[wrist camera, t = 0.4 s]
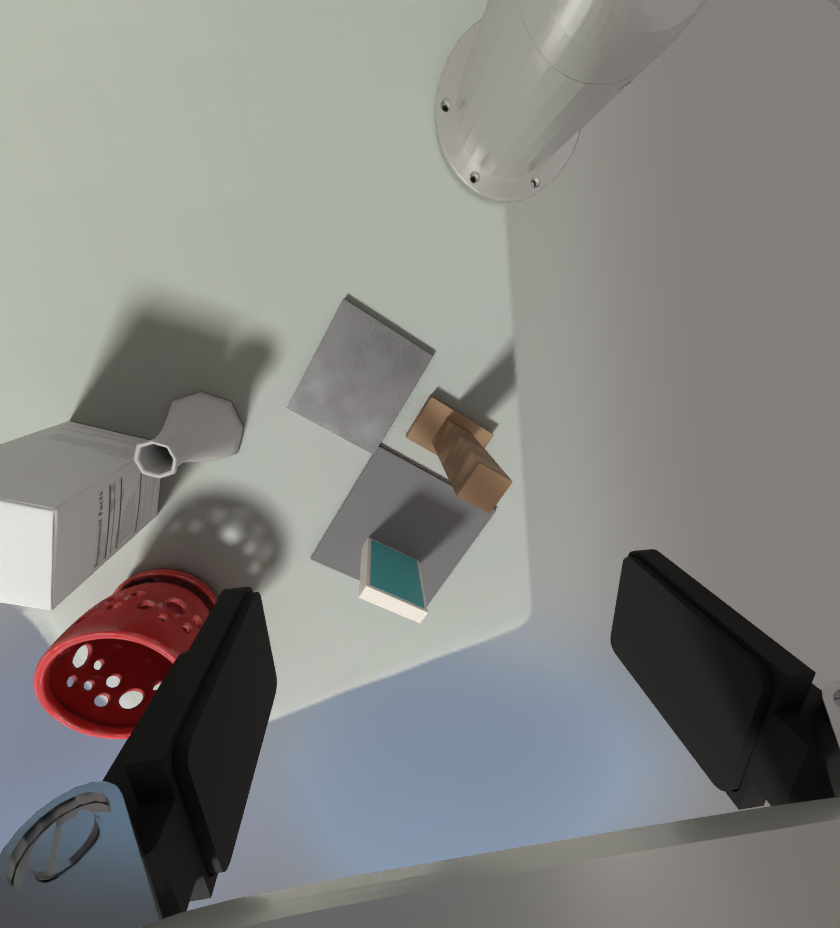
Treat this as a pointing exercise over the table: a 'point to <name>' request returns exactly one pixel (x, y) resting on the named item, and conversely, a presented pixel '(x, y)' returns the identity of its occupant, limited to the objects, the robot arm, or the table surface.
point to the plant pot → (122, 650)
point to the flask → (191, 435)
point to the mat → (402, 521)
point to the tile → (392, 581)
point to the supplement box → (67, 509)
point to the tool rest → (359, 378)
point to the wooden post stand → (461, 453)
